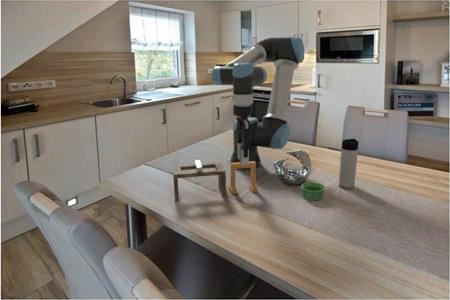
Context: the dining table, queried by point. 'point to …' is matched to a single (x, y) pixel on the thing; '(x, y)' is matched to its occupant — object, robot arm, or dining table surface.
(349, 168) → the travel mug
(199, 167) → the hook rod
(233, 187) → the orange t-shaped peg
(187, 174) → the brown frame with crossbar
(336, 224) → the dining table surface
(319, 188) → the ramekin
